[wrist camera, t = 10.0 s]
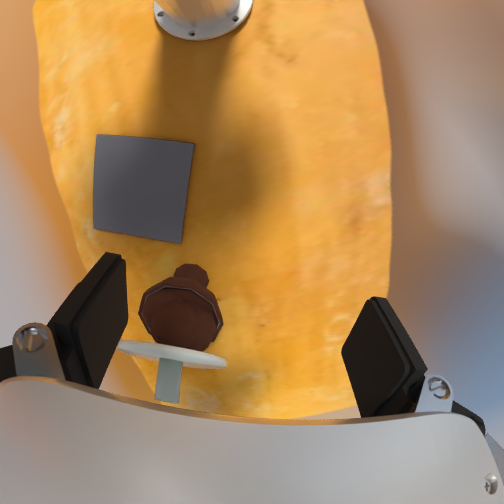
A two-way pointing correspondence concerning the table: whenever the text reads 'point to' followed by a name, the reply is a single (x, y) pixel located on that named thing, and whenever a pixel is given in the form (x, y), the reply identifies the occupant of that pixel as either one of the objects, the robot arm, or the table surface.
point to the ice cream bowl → (182, 310)
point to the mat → (141, 186)
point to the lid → (170, 364)
